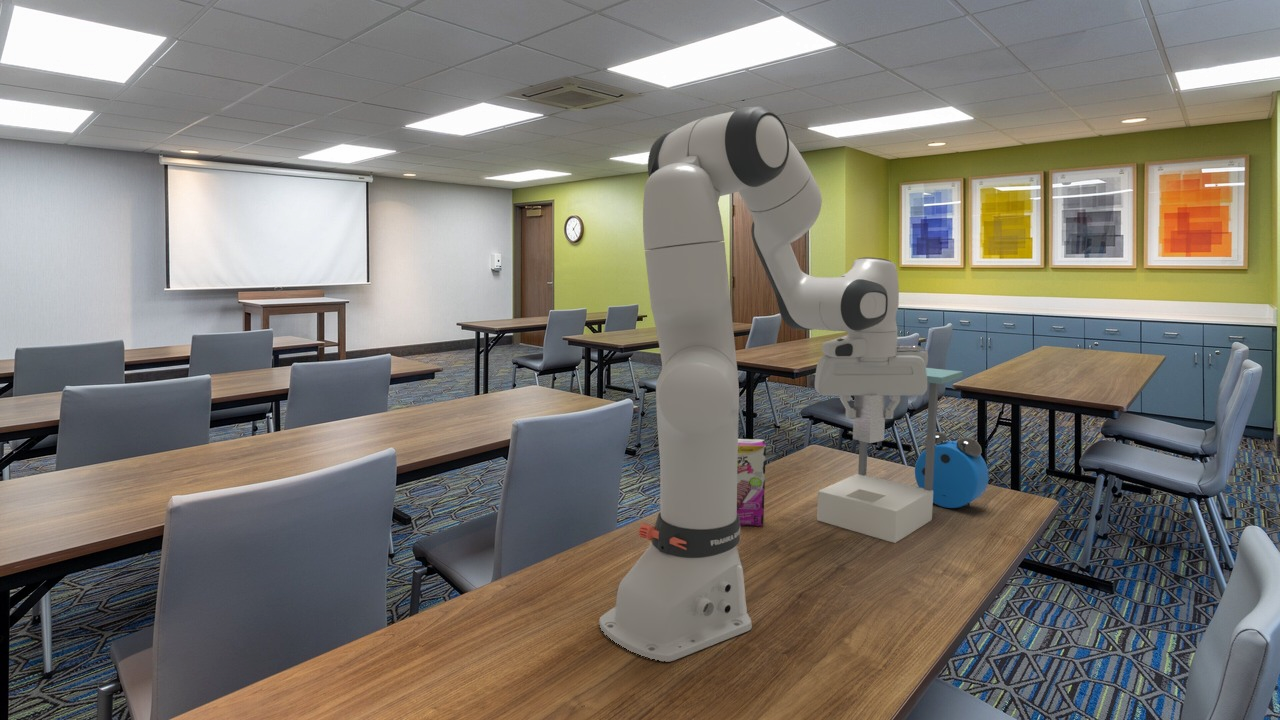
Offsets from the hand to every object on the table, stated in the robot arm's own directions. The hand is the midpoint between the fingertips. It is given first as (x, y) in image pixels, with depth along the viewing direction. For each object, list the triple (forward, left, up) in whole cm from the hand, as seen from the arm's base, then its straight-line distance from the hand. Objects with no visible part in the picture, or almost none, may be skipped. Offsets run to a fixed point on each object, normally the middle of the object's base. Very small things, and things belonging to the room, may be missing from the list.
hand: (869, 418), depth 129 cm
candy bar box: (-16, +19, -22) cm, 33 cm away
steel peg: (0, 0, -4) cm, 4 cm away
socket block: (+7, 0, -21) cm, 22 cm away
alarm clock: (+23, -7, -22) cm, 32 cm away
